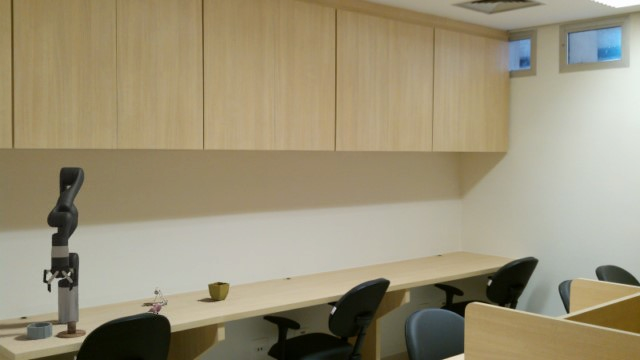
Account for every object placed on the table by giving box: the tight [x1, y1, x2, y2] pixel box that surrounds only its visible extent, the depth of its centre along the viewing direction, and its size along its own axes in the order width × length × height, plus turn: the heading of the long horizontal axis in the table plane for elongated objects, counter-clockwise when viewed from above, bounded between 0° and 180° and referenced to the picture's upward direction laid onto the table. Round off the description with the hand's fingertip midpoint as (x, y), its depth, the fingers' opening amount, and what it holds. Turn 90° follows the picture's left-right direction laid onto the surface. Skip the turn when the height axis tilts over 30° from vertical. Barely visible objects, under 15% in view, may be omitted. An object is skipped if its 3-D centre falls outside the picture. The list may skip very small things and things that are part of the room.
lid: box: [57, 321, 87, 339], centre depth 293 cm, size 12×12×6 cm
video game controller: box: [147, 303, 163, 314], centre depth 328 cm, size 10×5×7 cm, turn 170°
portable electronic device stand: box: [152, 287, 169, 306], centre depth 355 cm, size 9×8×8 cm
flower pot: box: [207, 281, 230, 301], centre depth 366 cm, size 9×9×9 cm
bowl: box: [26, 321, 53, 340], centre depth 290 cm, size 10×10×5 cm
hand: (60, 291), depth 299 cm, fingers open, 8 cm apart
